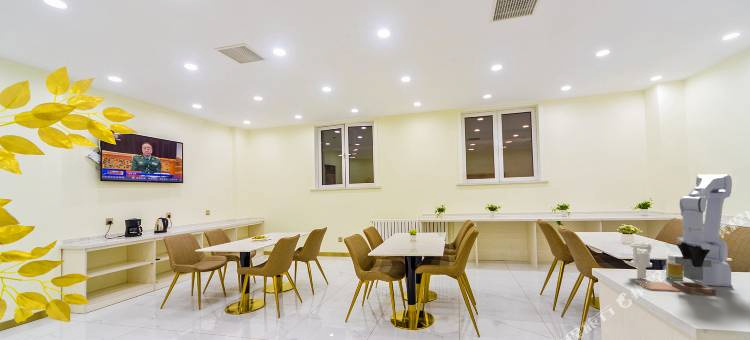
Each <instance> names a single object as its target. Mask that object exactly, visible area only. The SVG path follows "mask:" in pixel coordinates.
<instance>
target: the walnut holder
mask: <svg viewBox="0 0 750 340" xmlns="http://www.w3.org/2000/svg"><path fill="white" fill-rule="evenodd" d="M671 286H672V287H674V288H676V289H679V290H680V292H684V293H686V294H693V295H708V296H717V289H716V288H713V287H711V286H710V285H704V284H702V283H699V282H697V281H684V280H671Z"/></svg>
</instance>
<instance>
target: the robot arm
mask: <svg viewBox="0 0 750 340" xmlns="http://www.w3.org/2000/svg"><path fill="white" fill-rule="evenodd" d="M732 181H733V179H732V176H731V175H730V174H698V175H697V176H696V178H695V185H696V186H695V187H693V188H692V189H691V190H690V192H689V193H688V194H687V196H686V195H685V196H683V197H681V198H680V199H679V209H680V215H681V216H682V237H681V236H677V237H676V239H677V240H676V242H677V243H678V244H676V246H677V248H678V249H679V250H680V253H681V255H682V256H681V257H692V258H693V264H694V267H702V265H703V262H704V259H705V258H706V259H709V260H711V267H703V280H693V282H699V283H701V284H704V285H706V286H718V287H733V286H734V285H733V284H732V267H731V266H730V264H729V263H728V262H726V261H727V260H728V257H729V255H728V254H729V252H728V251H729V250H728V247H729V246H728V244H727V243H726V241H725V240H723V239H722V238H721V237H720V231H721V223H722V215H723V207H724V202H725V199H727V198H729V197H731V193H732V188H733V182H732ZM704 213H705V216H704Z"/></svg>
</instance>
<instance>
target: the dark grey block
mask: <svg viewBox="0 0 750 340" xmlns="http://www.w3.org/2000/svg"><path fill="white" fill-rule="evenodd" d="M675 263H677V264H680V265H682V266H683V278H684V279H685V278H686V279H688V280H693V281H694V280H703V267H711V260H709V259H706V258H705V259H704V262H703V265H702V267H694V264H693V258H692V257H683V256H681V257H678V256H675Z"/></svg>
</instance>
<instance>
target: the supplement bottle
mask: <svg viewBox="0 0 750 340" xmlns="http://www.w3.org/2000/svg"><path fill="white" fill-rule="evenodd" d="M675 256H678V257H682V256H681V255H678V254H668V255H667V258H668V259H667V260H666V261H665V277H666V276H667V277H668V278H671V279H670V280H672V279H673V280H672V281H684V277H683V266H682V265H680V264H677V263H675ZM667 277H666V278H667ZM668 278H667V279H668Z"/></svg>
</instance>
